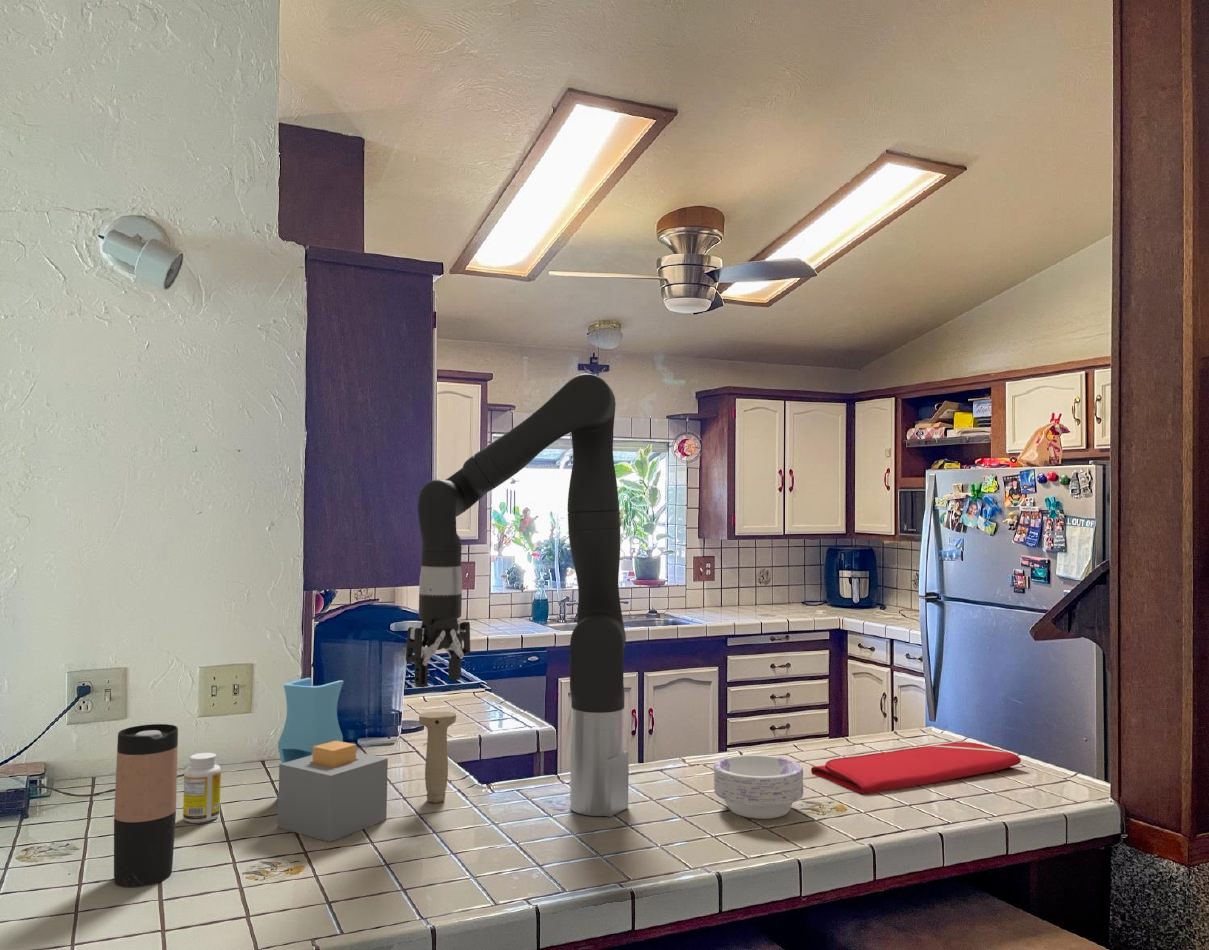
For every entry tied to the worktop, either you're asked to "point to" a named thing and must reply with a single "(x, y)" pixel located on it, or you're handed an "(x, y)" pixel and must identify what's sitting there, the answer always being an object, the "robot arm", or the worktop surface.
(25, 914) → the worktop surface
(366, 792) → the box
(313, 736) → the vase
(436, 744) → the handle
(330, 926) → the worktop surface
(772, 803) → the paper bowls
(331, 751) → the button
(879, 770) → the dish drying mat
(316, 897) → the worktop surface
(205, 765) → the supplement bottle
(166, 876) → the travel mug
